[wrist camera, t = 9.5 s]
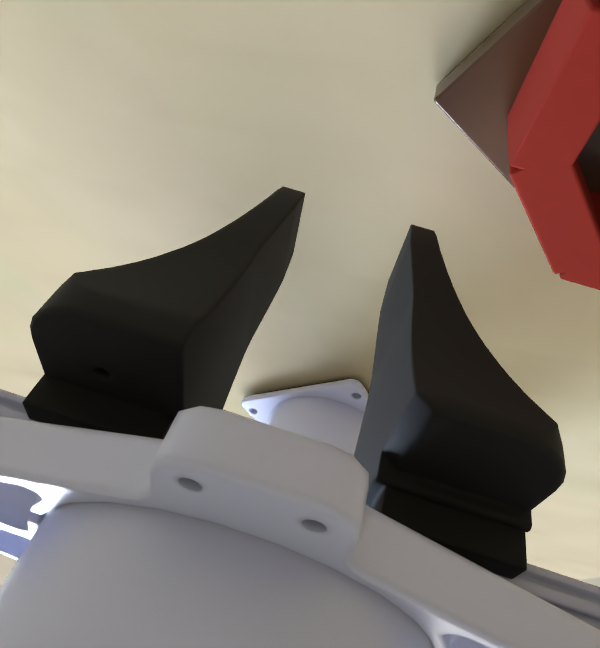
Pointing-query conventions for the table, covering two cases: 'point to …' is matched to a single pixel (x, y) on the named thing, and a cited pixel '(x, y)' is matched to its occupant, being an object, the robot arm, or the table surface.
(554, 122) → the ring
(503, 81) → the peg stand
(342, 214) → the table surface
